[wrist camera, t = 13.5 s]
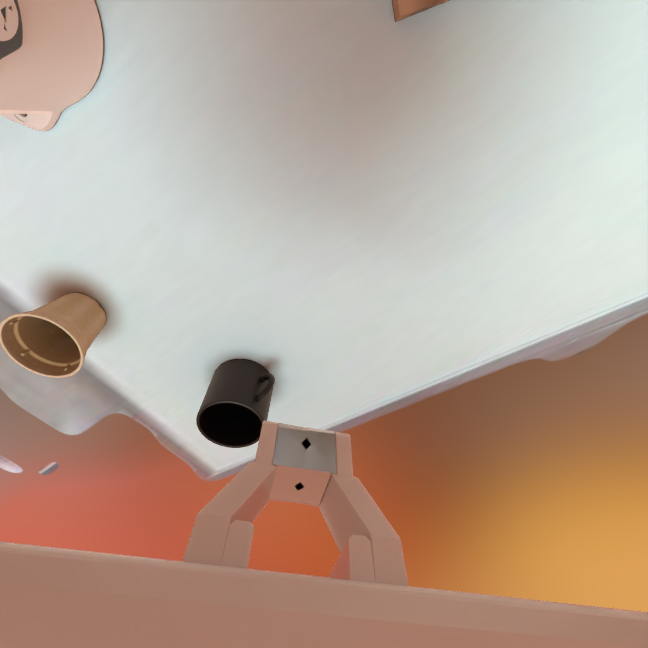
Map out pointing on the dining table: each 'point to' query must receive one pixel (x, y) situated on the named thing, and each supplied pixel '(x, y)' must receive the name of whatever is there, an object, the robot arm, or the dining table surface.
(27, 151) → the dining table surface
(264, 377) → the mug
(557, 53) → the dining table surface
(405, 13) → the wooden cutting board
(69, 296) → the flower pot
